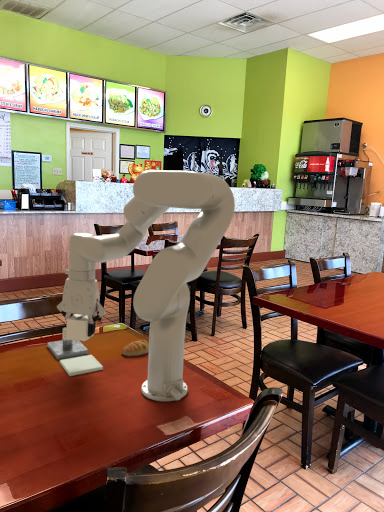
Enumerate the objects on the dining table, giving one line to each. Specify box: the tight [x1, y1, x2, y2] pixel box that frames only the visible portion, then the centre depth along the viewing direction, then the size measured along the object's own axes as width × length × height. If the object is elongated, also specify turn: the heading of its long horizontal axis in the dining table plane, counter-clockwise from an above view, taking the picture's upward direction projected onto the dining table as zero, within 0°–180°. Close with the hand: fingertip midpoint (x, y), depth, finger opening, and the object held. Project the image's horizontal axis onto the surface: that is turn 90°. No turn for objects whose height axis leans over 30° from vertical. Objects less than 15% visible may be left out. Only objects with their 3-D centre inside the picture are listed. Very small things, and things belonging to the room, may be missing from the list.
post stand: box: [47, 327, 89, 360], centre depth 135 cm, size 12×10×8 cm
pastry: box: [120, 339, 149, 357], centre depth 137 cm, size 9×7×4 cm
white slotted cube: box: [66, 314, 95, 342], centre depth 122 cm, size 6×6×6 cm
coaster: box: [59, 354, 104, 377], centre depth 124 cm, size 10×10×1 cm
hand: (80, 333), depth 122 cm, fingers closed on white slotted cube, 5 cm apart
